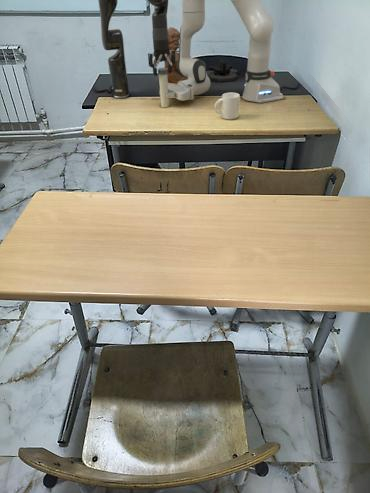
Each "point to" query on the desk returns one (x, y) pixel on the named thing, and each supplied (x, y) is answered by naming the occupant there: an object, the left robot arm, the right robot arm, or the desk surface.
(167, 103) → the beige tapered cylinder
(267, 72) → the right robot arm
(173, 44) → the sculpture
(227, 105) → the mug
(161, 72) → the lid
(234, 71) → the abstract sculpture
